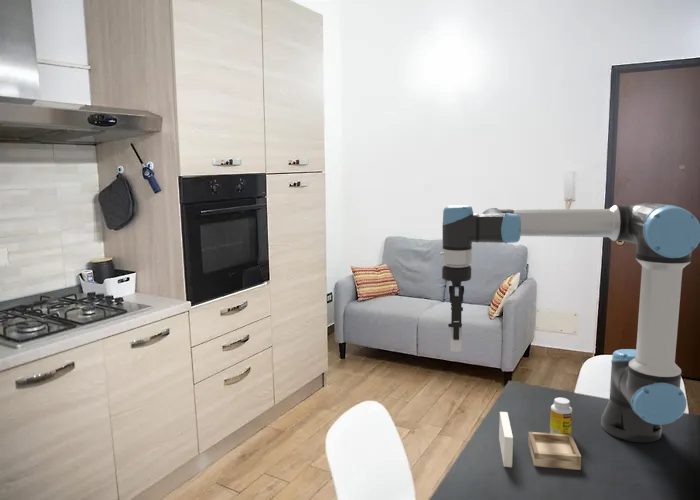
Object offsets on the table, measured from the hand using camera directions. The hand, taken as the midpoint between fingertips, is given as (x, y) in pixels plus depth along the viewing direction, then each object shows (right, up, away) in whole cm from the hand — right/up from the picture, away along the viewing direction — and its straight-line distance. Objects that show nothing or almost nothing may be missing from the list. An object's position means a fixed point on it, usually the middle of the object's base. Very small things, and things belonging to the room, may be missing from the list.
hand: (455, 342), depth 144 cm
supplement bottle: (+31, -27, +6) cm, 41 cm away
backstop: (+13, -29, -3) cm, 31 cm away
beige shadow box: (+24, -29, -5) cm, 38 cm away
